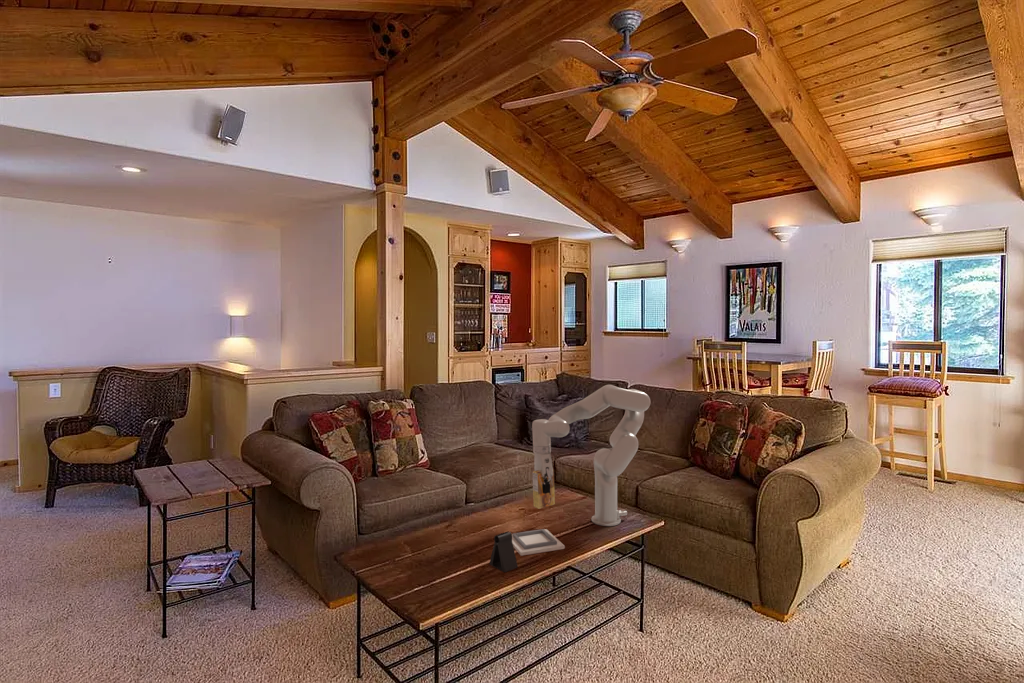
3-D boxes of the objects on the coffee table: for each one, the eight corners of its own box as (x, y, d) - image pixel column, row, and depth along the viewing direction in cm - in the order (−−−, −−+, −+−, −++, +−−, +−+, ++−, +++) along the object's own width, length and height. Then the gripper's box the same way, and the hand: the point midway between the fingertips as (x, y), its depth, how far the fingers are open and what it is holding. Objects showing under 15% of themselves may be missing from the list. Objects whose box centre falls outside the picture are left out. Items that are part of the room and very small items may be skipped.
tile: (546, 532, 244) (546, 526, 244) (564, 548, 227) (564, 542, 227) (505, 538, 238) (505, 532, 238) (521, 555, 221) (520, 549, 221)
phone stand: (489, 564, 214) (488, 532, 213) (502, 559, 217) (501, 528, 217) (505, 572, 207) (504, 539, 206) (517, 567, 211) (517, 535, 210)
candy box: (549, 502, 255) (547, 467, 254) (555, 504, 251) (554, 469, 250) (533, 506, 249) (531, 471, 248) (539, 509, 246) (537, 473, 245)
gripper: (558, 452, 242) (560, 495, 243) (542, 443, 258) (544, 484, 259) (541, 454, 239) (543, 498, 241) (526, 445, 256) (528, 486, 257)
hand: (543, 490), depth 250 cm, fingers closed on candy box, 5 cm apart
